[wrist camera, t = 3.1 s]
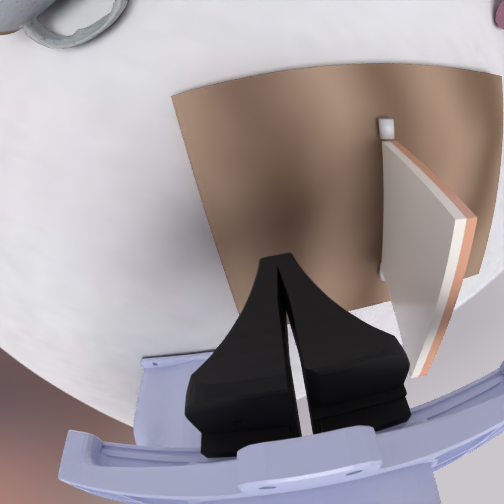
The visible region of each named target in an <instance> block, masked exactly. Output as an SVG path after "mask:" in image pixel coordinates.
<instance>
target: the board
mask: <svg viewBox="0 0 504 504" xmlns="http://www.w3.org/2000/svg"><path fill="white" fill-rule="evenodd" d="M171 97H172V101H173V104H174V108H175V111H176V115H177V118H178V122H179V125H180V129H181V132H182V136H183V139H184V143H185V146H186V150H187V153H188V156H189V160H190V163H191V166H192V170H193V173H194V176H195V180H196V183H197V186H198V189H199V193H200V196H201V199H202V202H203V206H204V209H205V212H206V215H207V218H208V222H209V225H210V228H211V231H212V234H213V237H214V240H215V243H216V246H217V249H218V253H219V256H220V259H221V262H222V265H223V268H224V271H225V274H226V277H227V280H228V283H229V286H230V289H231V292H232V294H233V297H234V300H235V303H236V306H237V309H238V312H239V315H240V313H241V311H242V310H243V308H244V305H245V303H246V301H247V299H248V296H249V294H250V292H251V289H252V286H253V283H254V280H255V277H256V274H257V270H258V265H259V260H260V259H261V258H264V257H269V256H274V255H279V254H284V253H289V252H290V253H292V254H293V256H294V258H295V260H296V261H297V263H298V264H299V265H300V267H301V268H302V269H303V271H304V272H305V273H306V274H307V275H308V276H309V278H310V279H311V280H312V281H313V282H314V283H315V284H316V285H317V286H318V287H319V288H320V289H321V290H322V291H323V292H324V293H325V294H326V295H327V296H328V297H330V298H331V299H332V300H333V301H334V302H336V303H337V304H338V305H339V306H341V307H342V308H343V309H345V310H346V311H351V310H355V309H359V308H363V307H367V306H371V305H375V304H379V303H383V302H387V301H391V298H390V295H389V291H388V288H387V285H386V282H385V281H381V280H380V279H379V270H380V264H381V261H382V244H383V213H384V184H383V154H382V141H397V142H399V143H400V144H401V145H402V146H404V147H405V148H406V149H407V150H408V151H410V152H411V153H412V154H413V155H414V156H415V157H417V158H418V159H419V160H420V161H421V162H422V163H423V164H424V165H426V166H427V167H428V168H429V169H430V170H431V171H432V172H433V173H434V174H435V175H436V176H437V177H439V178H440V179H441V180H442V181H443V182H444V183H445V184H446V185H447V186H448V187H449V188H450V189H451V190H452V191H453V192H454V193H455V194H456V195H457V196H458V197H459V198H460V199H461V200H462V201H463V202H464V204H465V205H466V206H467V207H468V208H469V209H470V210H471V211H472V212H473V213H474V214H475V216H476V217H477V223H476V228H475V233H474V238H473V243H472V247H471V251H470V255H469V259H468V263H467V267H466V271H465V274H464V278H467V277H470V276H473V275H476V274H479V270H480V267H481V264H482V260H483V257H484V253H485V249H486V245H487V241H488V237H489V233H490V228H491V223H492V219H493V213H494V208H495V202H496V196H497V190H498V182H499V174H500V165H501V154H502V137H503V92H502V76H499V75H494V74H489V73H483V72H478V71H472V70H465V69H458V68H450V67H440V66H429V65H414V64H346V65H331V66H319V67H309V68H300V69H292V70H285V71H278V72H272V73H266V74H260V75H255V76H249V77H244V78H240V79H235V80H230V81H226V82H222V83H217V84H213V85H209V86H205V87H202V88H198V89H194V90H191V91H187V92H184V93H180V94H177V95H174V96H171ZM384 117H386V118H393V119H394V133H395V138H394V139H381V138H380V133H379V121H378V118H384ZM464 278H463V279H464ZM286 315H287V312H286ZM287 324H290V322H289V319H288V315H287Z"/></svg>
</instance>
